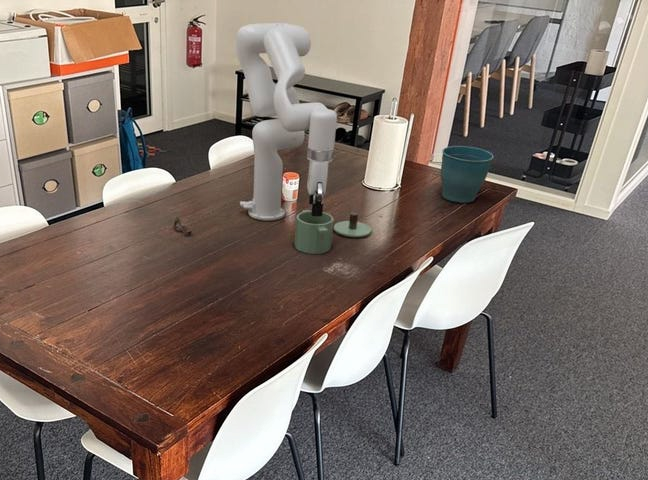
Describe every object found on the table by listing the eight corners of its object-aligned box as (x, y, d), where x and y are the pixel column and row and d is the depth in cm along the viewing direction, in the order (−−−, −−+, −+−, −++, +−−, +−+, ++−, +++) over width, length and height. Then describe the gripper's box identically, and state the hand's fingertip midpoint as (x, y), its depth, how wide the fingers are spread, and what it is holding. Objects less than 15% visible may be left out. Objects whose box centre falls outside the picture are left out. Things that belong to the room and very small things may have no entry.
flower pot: (489, 196, 259) (499, 151, 249) (475, 210, 246) (485, 163, 237) (443, 186, 267) (452, 143, 257) (427, 199, 254) (435, 154, 244)
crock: (304, 258, 206) (306, 229, 201) (287, 237, 220) (289, 209, 215) (339, 255, 209) (342, 226, 204) (320, 234, 223) (323, 206, 217)
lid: (341, 240, 219) (343, 222, 216) (328, 225, 229) (329, 208, 226) (377, 237, 222) (379, 219, 219) (362, 223, 232) (364, 205, 229)
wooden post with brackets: (174, 224, 223) (177, 213, 220) (188, 240, 221) (192, 230, 217) (169, 225, 222) (172, 215, 219) (184, 241, 220) (187, 231, 216)
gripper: (305, 144, 206) (301, 199, 215) (309, 162, 191) (305, 220, 201) (330, 145, 206) (324, 200, 215) (336, 163, 192) (330, 221, 201)
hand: (315, 209), depth 208 cm, fingers open, 9 cm apart
